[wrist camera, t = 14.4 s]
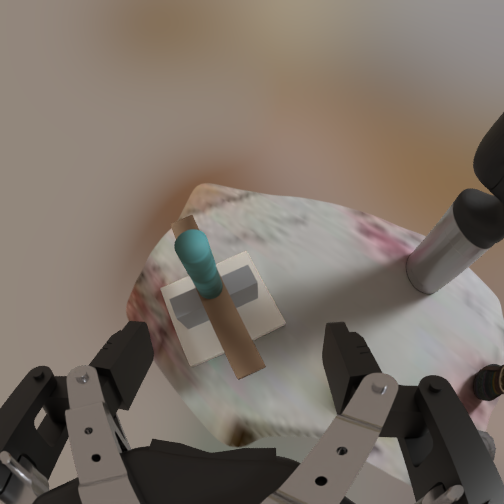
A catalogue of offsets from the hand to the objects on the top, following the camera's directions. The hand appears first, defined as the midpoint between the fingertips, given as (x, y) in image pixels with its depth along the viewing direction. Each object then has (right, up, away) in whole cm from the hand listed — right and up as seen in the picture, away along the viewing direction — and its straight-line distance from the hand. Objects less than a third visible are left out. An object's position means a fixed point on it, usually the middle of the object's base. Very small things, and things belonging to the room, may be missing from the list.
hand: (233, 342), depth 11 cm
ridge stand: (-4, -5, +32) cm, 33 cm away
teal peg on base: (-4, -2, +25) cm, 25 cm away
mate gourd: (+45, -22, +22) cm, 55 cm away
